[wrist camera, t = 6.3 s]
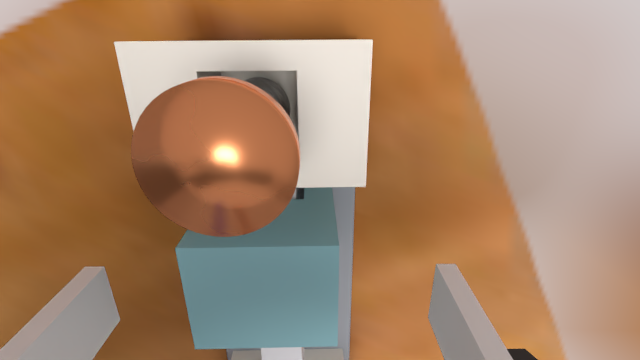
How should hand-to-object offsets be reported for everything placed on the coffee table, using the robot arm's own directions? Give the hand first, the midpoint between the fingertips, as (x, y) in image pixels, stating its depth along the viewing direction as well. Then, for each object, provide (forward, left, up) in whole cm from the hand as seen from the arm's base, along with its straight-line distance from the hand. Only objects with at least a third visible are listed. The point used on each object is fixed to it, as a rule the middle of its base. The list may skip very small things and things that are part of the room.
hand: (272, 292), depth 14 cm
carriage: (0, 0, -7) cm, 7 cm away
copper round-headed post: (0, +7, -3) cm, 7 cm away
